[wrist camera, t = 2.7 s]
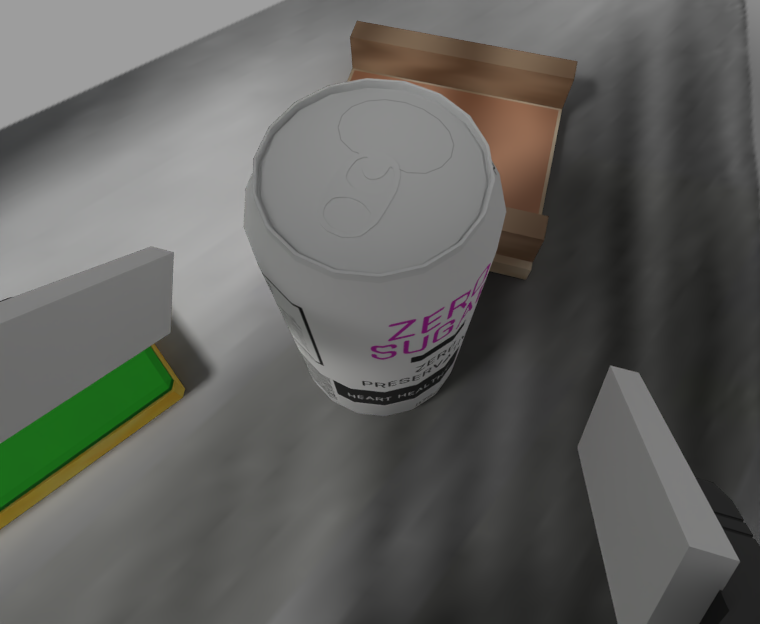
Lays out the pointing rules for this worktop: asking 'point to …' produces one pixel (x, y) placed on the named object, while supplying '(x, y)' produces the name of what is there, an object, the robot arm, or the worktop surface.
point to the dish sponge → (83, 430)
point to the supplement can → (375, 236)
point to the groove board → (486, 114)
